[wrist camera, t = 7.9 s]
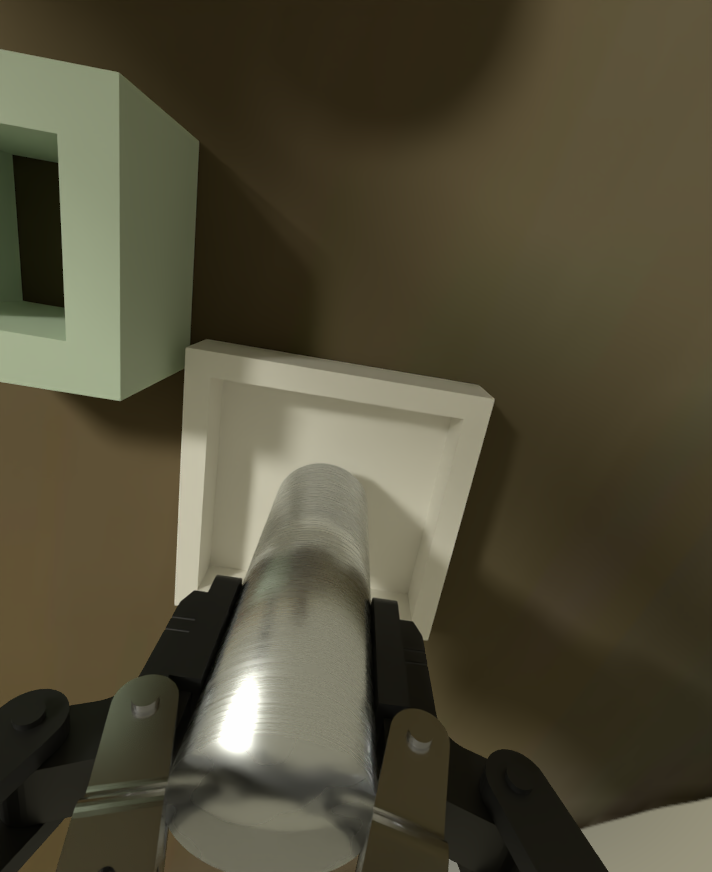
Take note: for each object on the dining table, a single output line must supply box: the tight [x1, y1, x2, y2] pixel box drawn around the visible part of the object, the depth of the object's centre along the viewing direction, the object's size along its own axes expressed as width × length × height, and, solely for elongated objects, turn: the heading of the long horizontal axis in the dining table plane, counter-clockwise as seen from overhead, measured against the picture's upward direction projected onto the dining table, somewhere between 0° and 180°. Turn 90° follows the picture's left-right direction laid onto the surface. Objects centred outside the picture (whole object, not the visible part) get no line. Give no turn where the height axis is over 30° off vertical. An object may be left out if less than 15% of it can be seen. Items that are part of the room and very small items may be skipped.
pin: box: [165, 463, 378, 872], centre depth 14 cm, size 4×4×12 cm
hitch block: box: [0, 49, 199, 401], centre depth 15 cm, size 9×9×6 cm
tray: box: [175, 339, 495, 640], centre depth 20 cm, size 12×12×2 cm
